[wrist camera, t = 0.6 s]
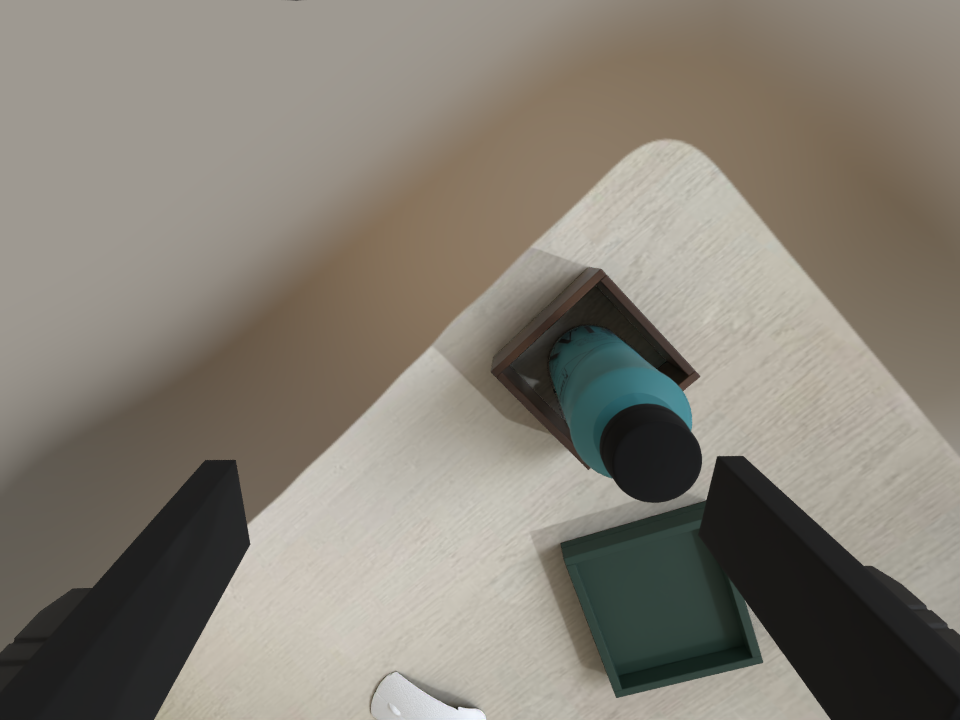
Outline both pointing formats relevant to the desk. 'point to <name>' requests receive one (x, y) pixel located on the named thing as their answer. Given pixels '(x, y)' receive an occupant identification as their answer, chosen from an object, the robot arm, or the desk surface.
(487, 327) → the desk surface
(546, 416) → the crate
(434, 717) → the computer mouse
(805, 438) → the desk surface
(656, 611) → the tray
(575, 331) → the beverage bottle
